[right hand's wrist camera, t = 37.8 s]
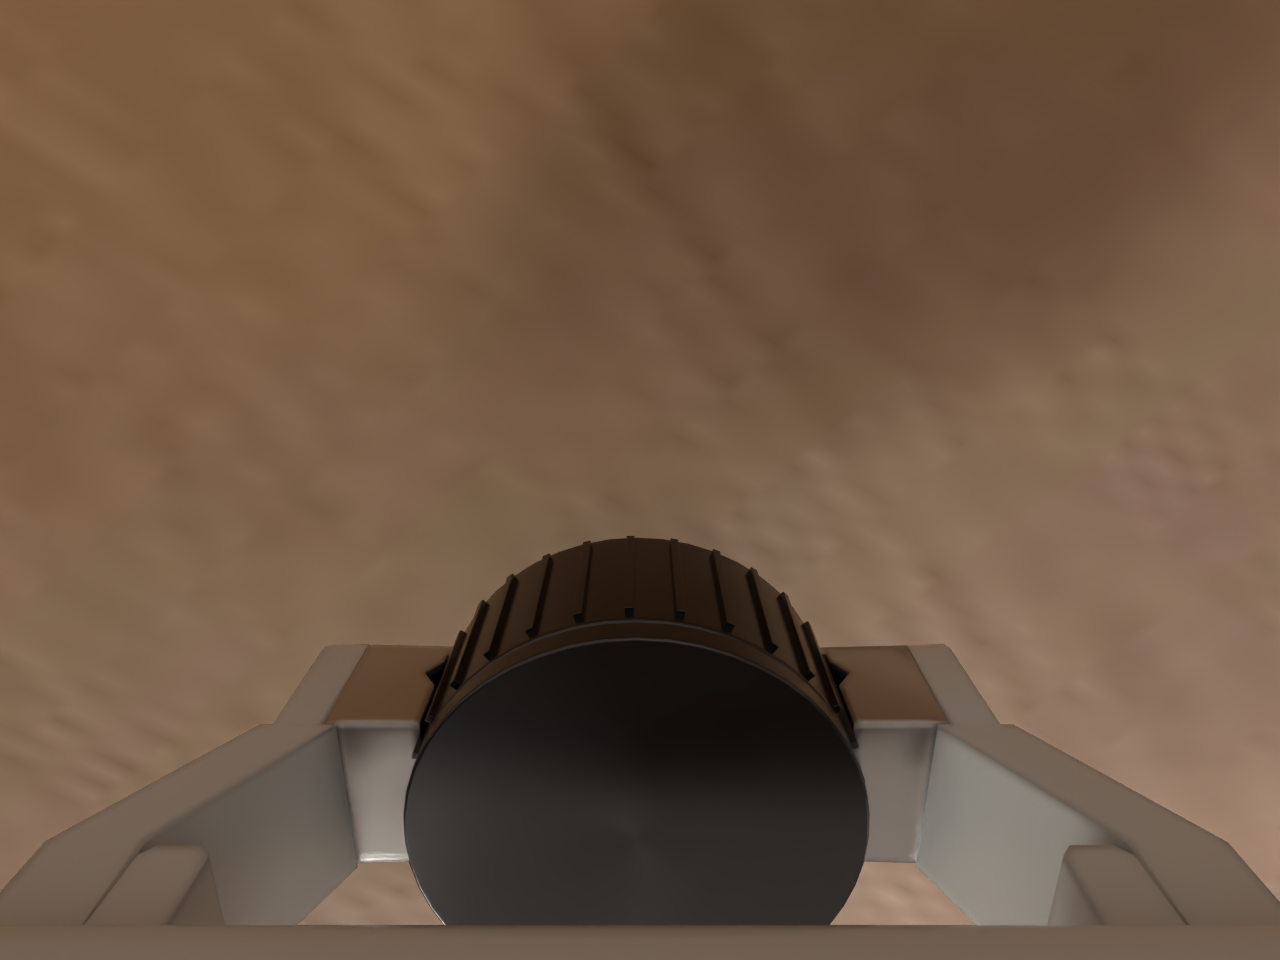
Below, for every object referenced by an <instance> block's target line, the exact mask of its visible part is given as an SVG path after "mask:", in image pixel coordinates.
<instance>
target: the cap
mask: <svg viewBox="0 0 1280 960" xmlns="http://www.w3.org/2000/svg"><path fill="white" fill-rule="evenodd" d="M425 721H427V722H429V724H428V726H427V729H426V731H425V734H424V736H423V739H422V741H421V742H418V741H417V742H416V745H415V747H414V750H413V753H412V757H411V759H414V760H415V763H414V765H413V769H412V772H411V775H410V779H409V782H408V786H407V789H406V795H405V804H404V812H403V821H404V839H405V844H406V849H407V854H408V858H409V863H410V866H411V869H412V871H413V874H414V876H415V879H416V881H417V884H418V887H419V888H420V890H421V892H422V894H423V895H424V897H425V899H426V901H427V902H428V904H429V906H430V908H431V909H432V910H433V912H434V913H435V914H436V915H437V917H438V918H439V919H440V921H441V922H442V923H443V924H444V925H830V923H831V922H832V921H833V920H834V918H835V917H836V916H837V914H838V913H839V912H840V910H841V909H842V908H843V906H844V905H845V903H846V901H847V899H848V897H849V896H850V894H851V892H852V890H853V888H854V887H855V885H856V882H857V879H858V877H859V874H860V871H861V869H862V866H863V863H864V859H865V854H866V849H867V844H868V839H869V822H870V811H869V803H868V796H867V788H866V785H865V778H864V776H863V773H862V770H861V769H860V766H859V763H858V760H857V757H856V755H855V752H854V749H856V748H859V745H858V742H857V739H856V736H855V734H854V731H853V729H852V726H851V723H850V721H849V718H848V715H847V713H846V710H845V708H844V705H843V702H842V700H841V697H840V695H839V692H838V689H837V686H836V684H835V681H834V678H833V676H832V673H831V670H830V668H829V665H828V663H827V660H826V657H825V655H824V654H821V651H820V648H819V646H818V643H817V640H816V638H815V635H814V632H813V630H812V627H811V625H810V623H809V622H808V621H807V622H805V623H803V621H802V620H801V618H800V617H799V616H798V614H797V613H796V611H795V610H794V608H793V607H792V606H791V604H790V601H789V598H788V596H787V595H786V594H785V593H784V592H782V593H781V594H780V593H779V592H778V591H777V590H776V589H775V588H773V587H772V586H771V585H770V584H769V583H767V582H766V581H765V580H764V579H762V578H761V577H760V576H759V575H758V572H757V570H755V569H754V568H752V567H751V568H750V569H747V568H746V567H744V566H743V565H741V564H739V563H738V562H736V561H733V560H731V559H729V558H727V557H725V556H722V555H720V551H717V550H714V549H713V550H712V551H710V550H707V549H703V548H700V547H697V546H694V545H690V544H686V543H681V542H678V540H677V539H671V540H664V539H650V538H634V536H627V538H624V539H609V540H604V541H599V542H593V543H591V541H587V542H583V545H580V546H577V547H574V548H571V549H567V550H564V551H561V552H558V553H556V554H554V555H552V556H550V554H547V555H545V556H543V558H542V560H541V561H538V562H536V563H534V564H533V565H531V566H530V567H528V568H526V569H525V570H523V571H522V572H520V573H518V574H517V575H515V576H514V575H513V574H511V575H510V576H509V577H507V580H506V583H505V584H504V585H503V586H502V587H501V588H499V589H498V590H497V591H496V592H495V593H494V594H493V595H492V596H491V597H490V598H489V599H488V601H487V602H485V601H484V600H482V601H481V602H480V603H479V604H478V607H477V610H476V613H475V615H474V618H473V620H472V621H471V623H470V624H469V626H468V627H467V629H466V631H465V632H463V631H461V630H460V632H459V634H458V636H457V638H456V641H455V643H454V646H453V649H452V651H451V654H450V656H449V659H448V662H447V664H446V667H445V669H444V672H443V675H442V677H441V680H440V682H439V685H438V687H437V690H436V693H435V695H434V698H433V700H432V703H431V706H430V708H429V711H428V713H427V716H426V719H425Z"/></svg>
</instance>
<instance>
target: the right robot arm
mask: <svg viewBox="0 0 1280 960" xmlns="http://www.w3.org/2000/svg"><path fill="white" fill-rule="evenodd" d="M452 649H453V646H405V645H372V646H371V645H369V644H355V645H330V646H327V647H325V648H324V649H323V650H322V651H321V653H320V654H319V656H318V657H317V659H316V660H315V662H314V663H313V665H312V666H311V668H310V669H309V671H308V673H307V674H306V676H305V677H304V679H303V680H302V682H301V683H300V685H299V686H298V688H297V689H296V691H295V692H294V694H293V695H292V697H291V698H290V700H289V701H288V703H287V704H286V706H285V707H284V709H283V710H282V712H281V713H280V715H279V716H278V718H277V719H276V721H275V722H274V724H265V725H258V726H256V727H255V728H253V729H251V730H249V731H247V732H245V733H244V734H242V735H240V736H238V737H236V738H234V739H233V740H231V741H229V742H227V743H225V744H223V745H222V746H220V747H218V748H216V749H214V750H212V751H211V752H209V753H207V754H205V755H203V756H201V757H199V758H198V759H196V760H194V761H192V762H190V763H188V764H187V765H185V766H183V767H181V768H179V769H177V770H176V771H174V772H172V773H170V774H168V775H166V776H165V777H163V778H161V779H159V780H157V781H155V782H154V783H152V784H150V785H148V786H146V787H144V788H142V789H141V790H139V791H137V792H135V793H133V794H131V795H130V796H128V797H126V798H124V799H122V800H120V801H119V802H117V803H115V804H113V805H111V806H109V807H108V808H106V809H104V810H102V811H100V812H98V813H97V814H95V815H93V816H91V817H89V818H87V819H85V820H84V821H82V822H80V823H78V824H76V825H74V826H73V827H71V828H69V829H67V830H65V831H63V832H62V833H60V834H58V835H56V836H54V837H52V838H51V839H49V840H47V841H45V842H44V843H43V845H42V846H41V847H40V848H39V849H38V850H37V851H36V852H35V854H34V855H33V856H32V857H31V858H30V859H29V860H28V862H27V863H26V864H25V865H24V866H23V867H22V868H21V869H20V871H19V872H18V873H17V874H16V875H15V876H14V877H13V878H12V880H11V881H10V882H9V883H8V884H7V885H6V886H5V888H4V889H3V890H2V891H1V892H0V960H1280V902H1279V901H1278V900H1277V898H1276V897H1275V896H1274V895H1273V894H1272V893H1271V892H1270V890H1269V889H1268V888H1267V887H1266V886H1265V885H1264V883H1263V882H1262V881H1261V880H1260V879H1259V878H1258V877H1257V875H1256V874H1255V873H1254V872H1253V871H1252V870H1251V868H1250V867H1249V866H1248V865H1247V864H1246V863H1245V862H1244V860H1243V859H1242V858H1241V857H1240V856H1239V855H1238V853H1237V852H1236V851H1235V850H1234V849H1233V848H1232V847H1231V845H1230V844H1229V843H1228V842H1226V841H1224V840H1222V839H1221V838H1219V837H1217V836H1215V835H1213V834H1211V833H1210V832H1208V831H1206V830H1204V829H1202V828H1201V827H1199V826H1197V825H1195V824H1193V823H1191V822H1190V821H1188V820H1186V819H1184V818H1182V817H1181V816H1179V815H1177V814H1175V813H1173V812H1171V811H1170V810H1168V809H1166V808H1164V807H1162V806H1161V805H1159V804H1157V803H1155V802H1153V801H1151V800H1150V799H1148V798H1146V797H1144V796H1142V795H1141V794H1139V793H1137V792H1135V791H1133V790H1131V789H1130V788H1128V787H1126V786H1124V785H1122V784H1121V783H1119V782H1117V781H1115V780H1113V779H1111V778H1110V777H1108V776H1106V775H1104V774H1102V773H1101V772H1099V771H1097V770H1095V769H1093V768H1091V767H1090V766H1088V765H1086V764H1084V763H1082V762H1081V761H1079V760H1077V759H1075V758H1073V757H1071V756H1070V755H1068V754H1066V753H1064V752H1062V751H1061V750H1059V749H1057V748H1055V747H1053V746H1051V745H1050V744H1048V743H1046V742H1044V741H1042V740H1041V739H1039V738H1037V737H1035V736H1033V735H1031V734H1030V733H1028V732H1026V731H1024V730H1022V729H1021V728H1019V727H1017V726H1015V725H1008V724H1000V723H999V722H998V720H997V719H996V717H995V716H994V714H993V713H992V711H991V710H990V708H989V706H988V705H987V703H986V702H985V700H984V699H983V697H982V696H981V694H980V693H979V691H978V690H977V688H976V687H975V685H974V684H973V682H972V681H971V679H970V678H969V676H968V675H967V673H966V672H965V670H964V669H963V667H962V666H961V664H960V663H959V661H958V660H957V658H956V656H955V655H954V653H953V652H952V650H951V649H950V647H948V646H946V645H944V644H929V645H903V646H865V647H825V648H820V651H821V654H824V655H825V657H826V660H827V663H828V665H829V668H830V670H831V673H832V676H833V678H834V681H835V684H836V686H837V689H838V692H839V695H840V697H841V700H842V702H843V705H844V708H845V710H846V713H847V715H848V718H849V721H850V723H851V726H852V729H853V731H854V734H855V736H856V739H857V742H858V745H859V748H856V749H854V752H855V755H856V757H857V760H858V763H859V766H860V769H861V770H862V773H863V776H864V778H865V785H866V788H867V796H868V803H869V811H870V822H869V839H868V844H867V849H866V854H865V859H864V861H868V862H904V863H917V864H916V867H917V868H918V869H919V870H921V871H922V872H923V873H924V874H925V875H926V876H927V877H928V878H929V879H930V880H931V881H932V882H933V883H934V884H935V885H936V886H937V887H938V888H939V889H940V890H941V891H942V892H943V893H944V894H945V895H946V896H947V897H948V898H949V899H950V900H951V901H953V902H954V903H955V904H956V905H957V906H958V907H959V908H960V909H961V910H962V911H963V912H964V913H965V914H966V915H967V916H968V917H969V918H970V919H971V920H972V921H973V922H974V923H975V924H976V925H297V924H299V923H300V922H301V921H302V920H303V919H304V918H305V917H306V916H307V915H308V914H309V913H310V912H311V911H312V910H313V909H314V908H315V907H316V906H317V905H318V904H319V903H320V902H321V901H323V900H324V899H325V898H326V897H327V896H328V895H329V894H330V893H331V892H332V891H333V890H334V889H335V888H336V887H337V886H338V885H339V884H340V883H341V882H342V881H343V880H344V879H345V878H347V877H348V876H349V875H350V874H351V873H352V872H353V871H354V870H355V869H356V868H357V863H369V862H404V861H409V858H408V854H407V849H406V844H405V839H404V821H403V812H404V804H405V795H406V789H407V786H408V782H409V779H410V775H411V772H412V769H413V765H414V763H415V760H414V759H411V757H412V753H413V750H414V747H415V745H416V742H417V741H418V742H421V741H422V739H423V736H424V734H425V731H426V729H427V726H428V724H429V722H427V721H425V719H426V716H427V713H428V711H429V708H430V706H431V703H432V700H433V698H434V695H435V693H436V690H437V687H438V685H439V682H440V680H441V677H442V675H443V672H444V669H445V667H446V664H447V662H448V659H449V656H450V654H451V651H452Z"/></svg>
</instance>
